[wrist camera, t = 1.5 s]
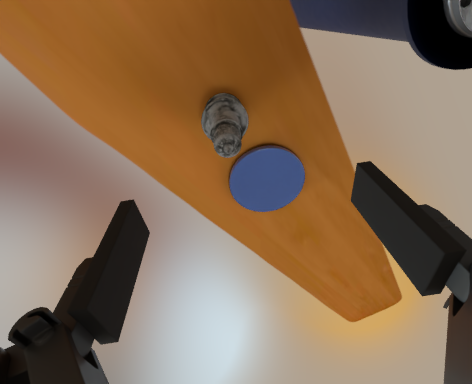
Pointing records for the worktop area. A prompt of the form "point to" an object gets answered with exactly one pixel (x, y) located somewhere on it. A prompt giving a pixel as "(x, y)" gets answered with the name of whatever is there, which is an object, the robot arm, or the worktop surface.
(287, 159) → the plate
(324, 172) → the worktop surface
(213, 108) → the grey tall tiered piece
